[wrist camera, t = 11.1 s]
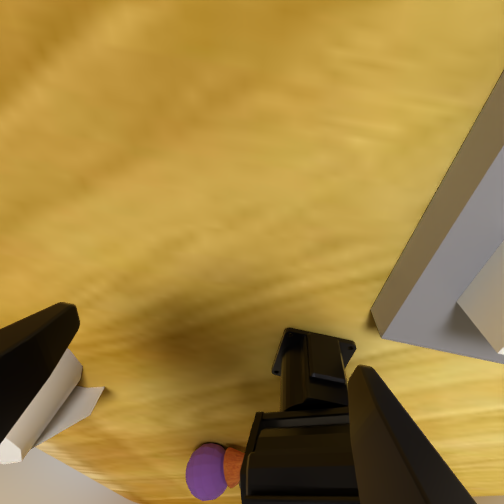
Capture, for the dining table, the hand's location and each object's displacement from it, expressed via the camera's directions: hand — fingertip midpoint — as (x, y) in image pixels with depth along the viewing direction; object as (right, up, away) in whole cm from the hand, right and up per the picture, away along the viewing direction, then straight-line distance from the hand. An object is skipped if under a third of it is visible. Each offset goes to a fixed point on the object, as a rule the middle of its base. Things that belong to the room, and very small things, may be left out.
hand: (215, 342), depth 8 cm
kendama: (+2, -23, +28) cm, 36 cm away
